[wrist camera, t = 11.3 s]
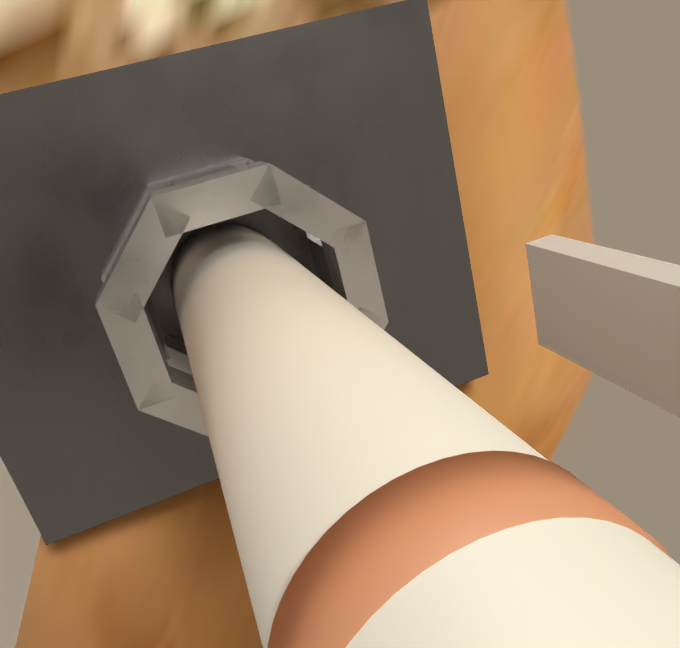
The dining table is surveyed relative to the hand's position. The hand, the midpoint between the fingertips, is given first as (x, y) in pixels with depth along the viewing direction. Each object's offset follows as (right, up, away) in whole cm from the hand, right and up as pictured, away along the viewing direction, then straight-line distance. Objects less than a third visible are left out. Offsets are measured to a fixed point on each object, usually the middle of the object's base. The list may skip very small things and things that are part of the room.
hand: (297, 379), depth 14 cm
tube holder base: (-4, +3, +11) cm, 12 cm away
